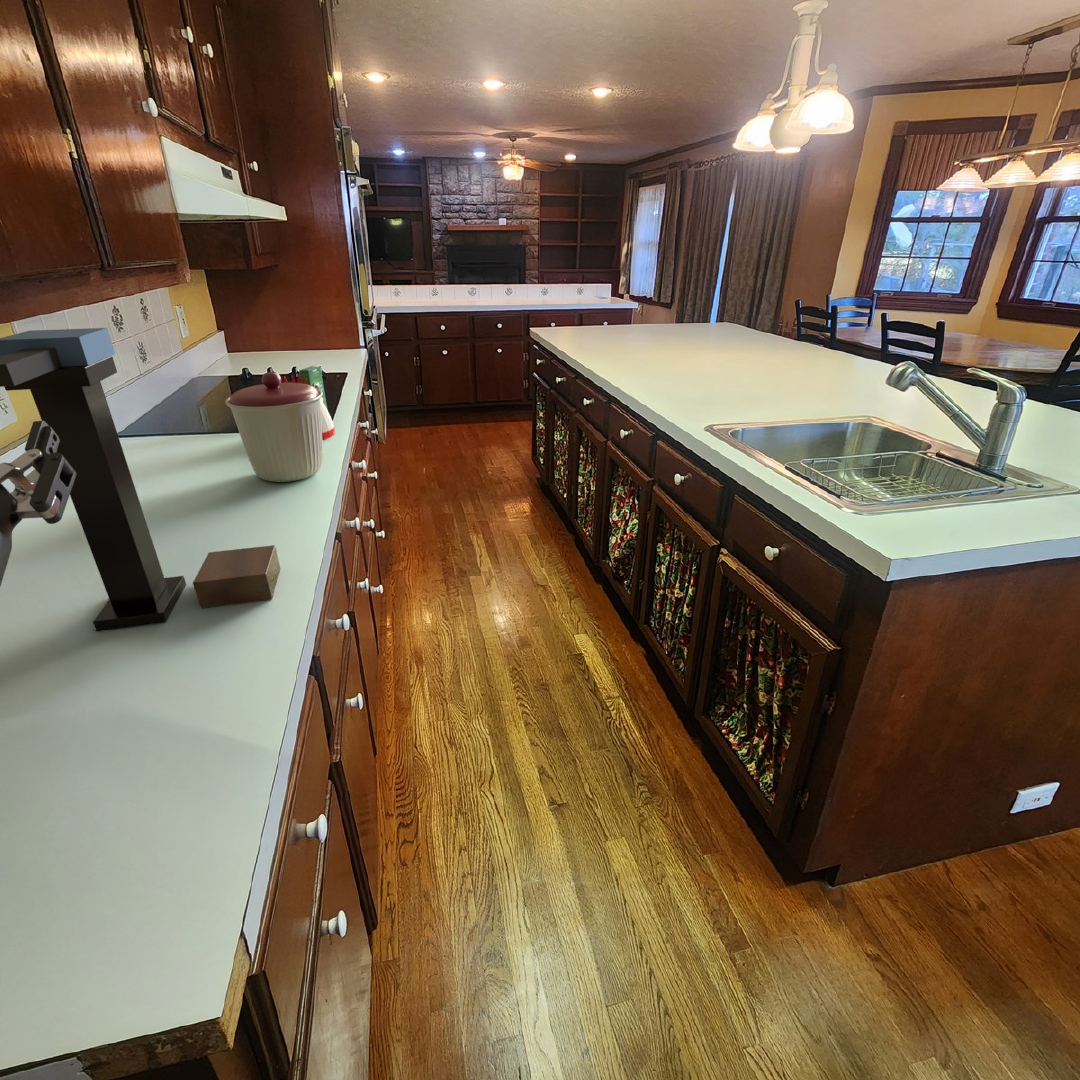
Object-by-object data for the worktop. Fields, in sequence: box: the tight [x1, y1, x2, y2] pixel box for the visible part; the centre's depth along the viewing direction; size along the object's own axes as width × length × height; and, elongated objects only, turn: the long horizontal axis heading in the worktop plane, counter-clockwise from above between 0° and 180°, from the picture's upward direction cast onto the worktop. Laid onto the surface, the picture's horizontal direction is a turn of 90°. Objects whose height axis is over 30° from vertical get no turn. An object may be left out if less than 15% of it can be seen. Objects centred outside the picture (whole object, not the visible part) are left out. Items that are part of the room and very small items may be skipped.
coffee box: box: [298, 365, 328, 409], centre depth 170 cm, size 8×3×13 cm, turn 173°
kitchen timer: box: [283, 374, 336, 441], centre depth 151 cm, size 14×14×15 cm
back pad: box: [0, 327, 116, 388], centre depth 63 cm, size 8×18×3 cm, turn 14°
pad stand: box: [4, 355, 187, 632], centre depth 74 cm, size 8×10×32 cm
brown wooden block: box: [192, 544, 281, 609], centre depth 85 cm, size 9×9×4 cm
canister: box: [224, 371, 324, 483], centre depth 123 cm, size 18×18×21 cm
